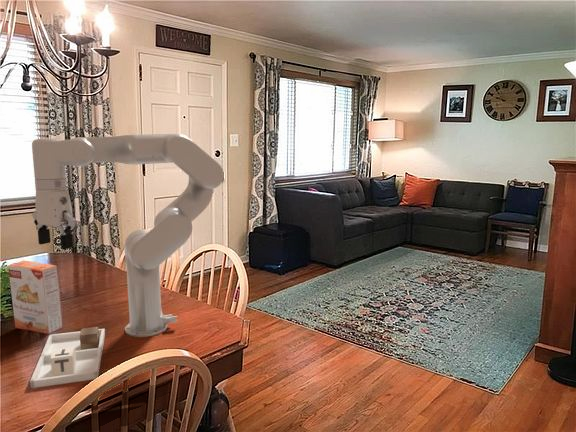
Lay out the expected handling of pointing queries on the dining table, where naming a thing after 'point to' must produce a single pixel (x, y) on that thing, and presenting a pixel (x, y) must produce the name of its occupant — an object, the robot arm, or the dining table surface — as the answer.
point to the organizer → (85, 360)
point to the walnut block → (89, 338)
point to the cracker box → (35, 296)
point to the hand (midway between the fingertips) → (55, 245)
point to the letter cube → (63, 361)
